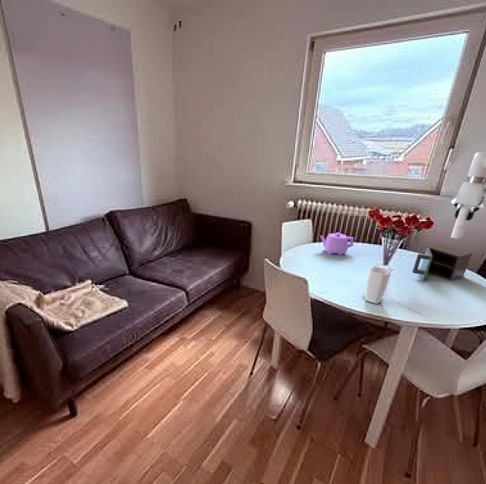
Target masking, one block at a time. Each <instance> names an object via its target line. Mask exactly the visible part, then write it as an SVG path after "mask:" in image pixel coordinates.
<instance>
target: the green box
mask: <svg viewBox="0 0 486 484" xmlns="http://www.w3.org/2000/svg"><path fill="white" fill-rule="evenodd" d="M421 260H422V262H421ZM431 260H432V254H431V251H430V249H429V247H426V250H425V253H424V254H423V253H417V256H416V259H415V262H414V266H413V269H412V273H413V274H418V275H420V279H421V280H422V281H423V282H425V281H426V279H427V274H428V273H427V272H428V269H429V266H430V263H431ZM420 263H421V264H420ZM419 266H420V268H419Z"/></svg>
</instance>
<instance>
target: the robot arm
mask: <svg viewBox="0 0 486 484" xmlns="http://www.w3.org/2000/svg"><path fill="white" fill-rule="evenodd" d="M485 200H486V151H477V152H475V154H474V156H473V159H472V161H471V165H470V168H469V170H468V173H467V176H466V179H465V181H463V183H462V185H461V186H460V188H459V190H458V193H457V195H456V197H455V198H453V199H452V200H451V201H450V202H451V204H452V205H453V206H454V208H455V213H454V218H455V219H457V217H458V215H459V212H460V209H461V207H464V205H465V206H469V207H470V208H471V211H470V212H469V213H468V215H467V218H466V220H468V221H471V220H472V219H473V217H474V215H475V213H476V212H477V211H480V210H482V209H485V208H486V203H485Z"/></svg>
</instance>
